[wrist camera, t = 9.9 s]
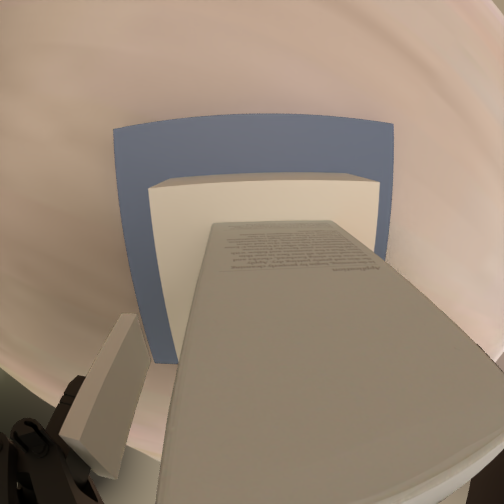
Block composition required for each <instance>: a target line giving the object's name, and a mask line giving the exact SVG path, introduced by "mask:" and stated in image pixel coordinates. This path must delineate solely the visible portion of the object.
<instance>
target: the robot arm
mask: <svg viewBox="0 0 504 504" xmlns="http://www.w3.org/2000/svg"><path fill="white" fill-rule="evenodd" d="M477 345H478V344H477ZM478 346H479V345H478ZM479 347H480V346H479ZM480 348H481V347H480ZM481 349H482V348H481ZM482 350H483V349H482ZM483 351H484V350H483ZM485 354H486V353H485ZM486 355H487V354H486ZM487 356H488V355H487ZM488 357H489V356H488ZM489 358H490V357H489ZM491 360H492V359H491ZM492 361H493V360H492ZM150 362H151V359H150V356H149V353H148V350H147V346H146V343H145V340H144V336H143V333H142V330H141V326H140V322H139V319H138V315H137V314H135V313H122V314H121V315H120V317H119V319H118V320H117V322H116V324H115V325H114V327H113V329H112V330H111V332H110V334H109V336H108V337H107V339H106V341H105V343H104V345H103V346H102V348H101V350H100V352H99V354H98V355H97V357H96V359H95V361H94V363H93V365H92V366H91V368H90V370H89V372H88V374H87V376H86V377H85V376H79V375H78V376H77V377H76V378H75V379H73V380H72V381H71V382H70V383H69V385H68V386H67V388H66V390H65V392H64V396H62V398H61V400H60V404H59V403H58V405H57V407H56V409H55V411H54V413H53V415H52V417H51V419H50V422H49V423H48V426H47V428H46V430H45V429H44V428H43V427H42V426H41V424H40V423H38V422H37V421H36V420H35V419H32V418H23V419H21V420H19V421H18V422H17V423H16V424H15V425H14V426H13V428H12V430H11V434H10V438H11V439H12V440H13V441H10V439H9V438H8V437H7V436H6V435H5V434H3V433H1V432H0V504H104V503H103V501H102V499H101V497H100V495H99V493H98V491H97V489H96V487H95V485H94V483H93V480H92V479H91V478H90V476H89V473H90V469H92V470H93V471H94V472H95V473H96V474H97V475H99V476H103V477H107V478H110V479H115V480H117V478H118V473H119V469H120V465H121V461H122V457H123V453H124V449H125V446H126V442H127V438H128V435H129V431H130V427H131V424H132V420H133V417H134V413H135V410H136V407H137V403H138V400H139V397H140V393H141V390H142V387H143V384H144V381H145V377H146V374H147V371H148V368H149V365H150ZM493 362H494V361H493ZM494 363H495V362H494ZM495 364H496V363H495ZM498 368H499V367H498ZM499 369H500V368H499ZM500 370H501V369H500ZM501 371H502V370H501ZM502 372H503V371H502ZM17 482H18V488H17ZM466 504H504V449H503V450H502V451H501V452H500V453H499V454H498V455H497V456H496V457H495V458H494V459H493V460H492V461H491V462H490V463H489V464H488V465H486V466H485V467H484V468H483V469H482V470H481V471H480V472H479V473H477V474H476V475H475V476H474V477H473V478H471V482H470V488H469V493H468V497H467V501H466Z"/></svg>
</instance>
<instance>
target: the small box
mask: <svg viewBox="0 0 504 504" xmlns="http://www.w3.org/2000/svg"><path fill="white" fill-rule="evenodd" d="M503 449H504V373H503V372H502V371H501V370H500V369H499V368H498V366H497V365H496V364H495V363H494V362H493V361H492V360H491V359H490V358H489V357H488V356H487V355H486V354H485V352H484V351H483V350H482V349H481V348H480V347H479V346H478V345H477V344H476V343H475V342H474V341H473V340H472V339H471V338H470V337H469V336H468V335H467V334H466V333H465V332H464V331H463V330H462V329H461V328H460V327H459V326H458V325H457V324H456V323H454V322H453V321H452V320H451V319H450V318H449V317H448V316H447V315H446V314H445V313H444V312H443V311H441V310H440V309H439V308H438V307H437V306H436V305H435V304H434V303H433V302H432V301H431V300H429V299H428V298H427V297H426V296H425V295H424V294H423V293H422V292H420V291H419V290H418V289H417V288H416V287H415V286H414V285H412V284H411V283H410V282H409V281H408V280H407V279H405V278H404V277H403V276H402V275H401V274H399V273H398V272H397V271H396V270H395V269H394V268H392V267H391V266H390V265H389V264H388V263H386V262H385V261H384V260H383V259H381V258H380V257H379V256H378V255H376V254H375V253H374V252H373V251H372V250H370V249H369V248H368V247H366V246H365V245H364V244H363V243H361V242H360V241H359V240H357V239H356V238H355V237H353V236H352V235H351V234H349V233H348V232H347V231H345V230H344V229H343V228H341V227H340V226H339V225H338V224H336V223H335V222H333V221H331V220H322V221H262V222H225V223H213V224H212V226H211V230H210V234H209V238H208V242H207V246H206V250H205V254H204V258H203V261H202V265H201V269H200V272H199V276H198V279H197V283H196V287H195V292H194V296H193V300H192V305H191V309H190V313H189V318H188V322H187V326H186V331H185V335H184V340H183V344H182V349H181V354H180V359H179V363H178V368H177V373H176V378H175V383H174V388H173V392H172V397H171V401H170V406H169V412H168V418H167V424H166V431H165V437H164V444H163V451H162V458H161V465H160V472H159V479H158V486H157V494H156V502H155V504H438V503H439V502H441V501H442V500H444V499H445V498H447V497H448V496H449V495H451V494H452V493H454V492H455V491H456V490H458V489H459V488H460V487H461V486H463V485H464V484H465V483H466V482H468V481H469V480H470V479H471V478H473V477H474V476H475V475H476V474H477V473H479V472H480V471H481V470H482V469H483V468H484V467H485V466H486V465H488V464H489V463H490V462H491V461H492V460H493V459H494V458H495V457H496V456H497V455H498V454H499V453H500V452H501V451H502V450H503Z"/></svg>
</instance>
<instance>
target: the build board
mask: <svg viewBox="0 0 504 504" xmlns="http://www.w3.org/2000/svg"><path fill="white" fill-rule="evenodd" d="M113 135H114V154H115V168H116V179H117V189H118V197H119V206H120V213H121V220H122V227H123V233H124V239H125V245H126V251H127V256H128V261H129V266H130V271H131V276H132V281H133V285H134V289H135V294H136V298H137V302H138V306H139V310H140V314H141V318H142V322H143V325H144V329H145V332H146V336H147V339H148V343H149V346H150V349H151V353H152V356H153V359H154V362H155V363H161V364H178V363H179V359H180V354H181V349H182V344H183V340H184V335H185V331H186V326H187V322H188V318H189V313H190V309H191V305H192V300H193V296H194V292H195V287H196V283H197V279H198V276H199V272H200V269H201V265H202V261H203V258H204V254H205V250H206V246H207V242H208V238H209V234H210V230H211V226H212V224H213V223H225V222H262V221H322V220H331V221H333V222H335V223H336V224H338V225H339V226H340V227H341V228H343V229H344V230H345V231H347V232H348V233H349V234H351V235H352V236H353V237H355V238H356V239H357V240H359V241H360V242H361V243H363V244H364V245H365V246H366V247H368V248H369V249H370V250H372V251H373V252H374V253H375V254H376V255H378V256H379V257H380V258H381V259H383V260H384V261H385V257H386V249H387V242H388V234H389V224H390V214H391V202H392V187H393V163H394V126H393V124H391V123H385V122H378V121H371V120H363V119H355V118H346V117H335V116H322V115H305V114H231V115H214V116H201V117H190V118H181V119H172V120H165V121H157V122H151V123H144V124H138V125H133V126H127V127H122V128H117V129H113Z"/></svg>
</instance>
